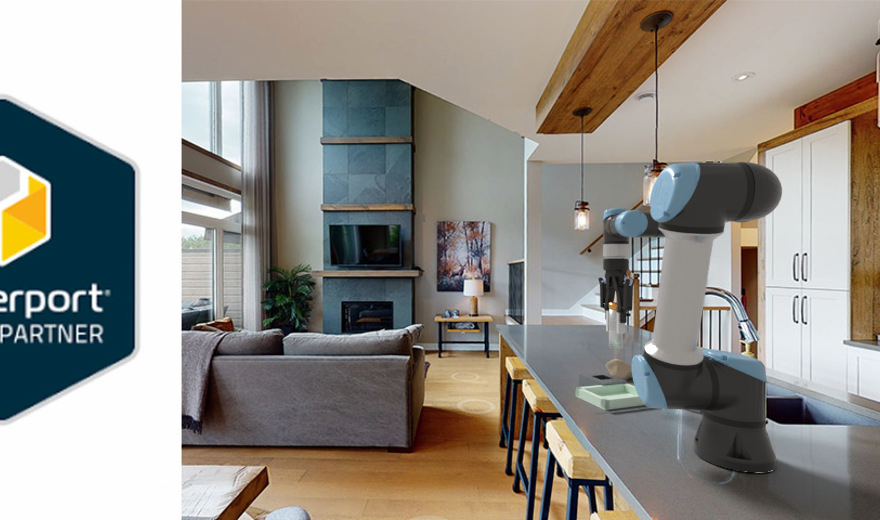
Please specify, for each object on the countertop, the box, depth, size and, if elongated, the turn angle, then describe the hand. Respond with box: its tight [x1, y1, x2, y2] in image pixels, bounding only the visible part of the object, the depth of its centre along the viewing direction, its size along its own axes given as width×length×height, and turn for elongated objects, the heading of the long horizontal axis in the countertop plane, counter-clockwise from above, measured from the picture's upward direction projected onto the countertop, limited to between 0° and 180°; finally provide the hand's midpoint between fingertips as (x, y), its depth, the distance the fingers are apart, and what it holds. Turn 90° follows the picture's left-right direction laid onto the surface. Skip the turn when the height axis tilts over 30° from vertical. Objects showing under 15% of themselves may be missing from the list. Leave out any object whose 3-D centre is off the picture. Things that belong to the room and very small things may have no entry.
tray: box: [575, 382, 646, 411], centre depth 133 cm, size 20×14×3 cm
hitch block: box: [578, 371, 628, 387], centre depth 146 cm, size 12×10×4 cm
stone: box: [605, 358, 633, 381], centre depth 158 cm, size 10×7×10 cm
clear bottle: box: [608, 301, 624, 350], centre depth 134 cm, size 4×4×14 cm
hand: (615, 332), depth 134 cm, fingers closed on clear bottle, 4 cm apart
